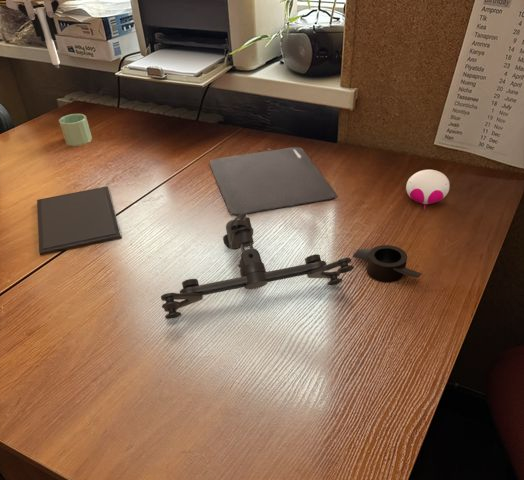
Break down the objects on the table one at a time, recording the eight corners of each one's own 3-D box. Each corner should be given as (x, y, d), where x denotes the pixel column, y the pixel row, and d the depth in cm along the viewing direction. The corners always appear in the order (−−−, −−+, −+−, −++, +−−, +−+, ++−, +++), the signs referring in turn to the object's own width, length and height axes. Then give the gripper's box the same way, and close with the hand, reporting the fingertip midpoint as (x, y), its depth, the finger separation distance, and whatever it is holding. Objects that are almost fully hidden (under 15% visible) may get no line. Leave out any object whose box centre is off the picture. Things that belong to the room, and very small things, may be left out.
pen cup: (63, 148, 119) (55, 124, 115) (69, 138, 123) (62, 114, 119) (90, 146, 119) (83, 122, 115) (94, 136, 123) (88, 112, 119)
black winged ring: (391, 249, 83) (394, 234, 81) (424, 283, 76) (427, 267, 74) (349, 259, 82) (350, 244, 80) (378, 295, 75) (380, 279, 73)
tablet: (38, 202, 100) (36, 199, 100) (108, 189, 103) (107, 185, 102) (40, 255, 87) (38, 252, 86) (121, 238, 89) (120, 234, 89)
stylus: (53, 69, 109) (34, 9, 101) (54, 67, 110) (36, 7, 102) (60, 68, 109) (42, 8, 101) (62, 66, 110) (44, 6, 102)
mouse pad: (339, 198, 96) (339, 197, 96) (230, 216, 93) (230, 215, 92) (300, 146, 113) (300, 145, 113) (208, 160, 110) (208, 159, 110)
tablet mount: (169, 332, 81) (161, 305, 65) (151, 250, 83) (139, 204, 67) (327, 298, 86) (356, 266, 69) (306, 221, 88) (329, 172, 71)
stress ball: (401, 219, 96) (402, 203, 89) (407, 181, 97) (409, 162, 90) (443, 223, 94) (447, 206, 87) (449, 183, 95) (453, 164, 88)
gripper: (57, -80, 97) (85, 30, 110) (-29, -72, 94) (10, 40, 107) (58, -77, 92) (88, 38, 105) (-33, -69, 89) (9, 49, 102)
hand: (48, 39), depth 106 cm, fingers closed on stylus, 1 cm apart
